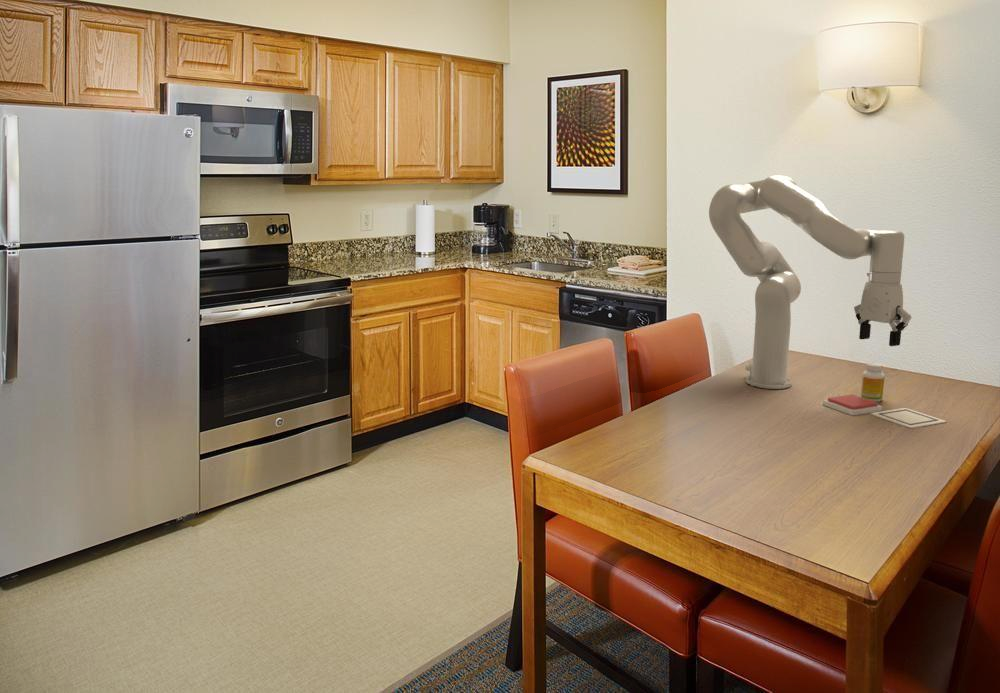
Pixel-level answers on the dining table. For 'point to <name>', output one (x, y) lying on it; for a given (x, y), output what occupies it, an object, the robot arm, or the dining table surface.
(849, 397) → the ink pad
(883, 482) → the dining table surface
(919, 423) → the marked sheet
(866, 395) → the supplement bottle
